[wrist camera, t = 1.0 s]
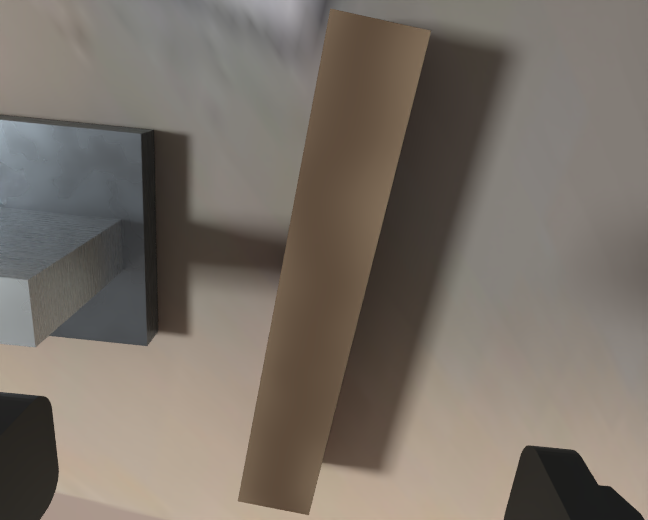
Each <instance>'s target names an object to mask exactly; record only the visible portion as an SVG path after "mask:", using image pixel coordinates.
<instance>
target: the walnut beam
mask: <svg viewBox="0 0 648 520" xmlns="http://www.w3.org/2000/svg"><path fill="white" fill-rule="evenodd" d="M430 33H431V31H430V30H425V29H421V28H416V27H411V26H407V25H402V24H398V23H393V22H389V21H384V20H380V19H375V18H371V17H366V16H362V15H357V14H352V13H348V12H343V11H339V10H334V9H330V14H329V19H328V24H327V30H326V35H325V40H324V46H323V51H322V56H321V62H320V67H319V72H318V78H317V83H316V88H315V94H314V99H313V104H312V110H311V115H310V120H309V126H308V131H307V136H306V141H305V147H304V152H303V157H302V163H301V168H300V173H299V179H298V184H297V189H296V195H295V200H294V205H293V211H292V216H291V221H290V227H289V232H288V237H287V243H286V248H285V253H284V258H283V264H282V269H281V274H280V280H279V285H278V290H277V296H276V301H275V306H274V312H273V317H272V322H271V328H270V333H269V338H268V344H267V349H266V354H265V360H264V365H263V370H262V375H261V381H260V386H259V391H258V397H257V402H256V407H255V413H254V418H253V423H252V429H251V434H250V439H249V445H248V450H247V455H246V461H245V466H244V471H243V477H242V482H241V487H240V492H239V498H238V501H239V502H245V503H250V504H255V505H260V506H265V507H270V508H275V509H280V510H285V511H290V512H296V513H301V514H306V515H309V512H310V508H311V504H312V500H313V496H314V492H315V488H316V484H317V480H318V476H319V472H320V468H321V464H322V460H323V456H324V452H325V449H326V445H327V441H328V437H329V433H330V429H331V425H332V421H333V417H334V413H335V409H336V405H337V401H338V397H339V393H340V389H341V385H342V381H343V377H344V373H345V369H346V366H347V362H348V358H349V354H350V350H351V346H352V342H353V338H354V334H355V330H356V326H357V322H358V318H359V314H360V310H361V306H362V302H363V298H364V294H365V290H366V286H367V282H368V279H369V275H370V271H371V267H372V263H373V259H374V255H375V251H376V247H377V243H378V239H379V235H380V231H381V227H382V223H383V219H384V215H385V211H386V207H387V203H388V199H389V196H390V192H391V188H392V184H393V180H394V176H395V172H396V168H397V164H398V160H399V156H400V152H401V148H402V144H403V140H404V136H405V132H406V128H407V124H408V120H409V116H410V112H411V109H412V105H413V101H414V97H415V93H416V89H417V85H418V81H419V77H420V73H421V69H422V65H423V61H424V57H425V53H426V49H427V45H428V41H429V37H430Z"/></svg>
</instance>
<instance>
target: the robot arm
mask: <svg viewBox="0 0 648 520" xmlns="http://www.w3.org/2000/svg"><path fill="white" fill-rule="evenodd" d="M58 473H59V468H58V458H57V449H56V440H55V432H54V423H53V414H52V407H51V403H50V401H49V399H48V398H47V397H44V396H35V395H25V394H15V393H5V392H0V520H40V519H41V517H42V516H43V514H44V513H45V511H46V510H47V508H48V507H49V505H50V503H51V500H52V498H53V496H54V493H55V490H56V486H57V482H58ZM504 520H644V518H643V517H642V515H641V514H640V513H639V512H638V511H637V510H636V509H635V508H634V507H633V506H631V505H630V504H629V503H628V502H627V501H626V500H625V499H624V498H623V497H621V496H620V495H619V494H618V493H617V492H616V491H615V490H614V489H613V488H611V487H610V486H600V485H598V484H597V482H596V480H595V479H594V477H593V475H592V474H591V472H590V471H589V469H588V467H587V466H586V464H585V462H584V461H583V459H582V457H581V456H580V455H579V454H578V453H577V452H576V451H574V450H569V449H559V448H549V447H539V446H526V447H525V448H524V449H523V451H522V453H521V456H520V460H519V463H518V467H517V471H516V475H515V478H514V482H513V486H512V489H511V493H510V497H509V500H508V504H507V508H506V512H505V516H504Z"/></svg>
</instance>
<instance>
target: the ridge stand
mask: <svg viewBox="0 0 648 520" xmlns="http://www.w3.org/2000/svg"><path fill="white" fill-rule="evenodd" d="M157 332H158V304H157V257H156V211H155V165H154V130H149V129H139V128H129V127H119V126H109V125H99V124H89V123H79V122H69V121H59V120H49V119H39V118H29V117H18V116H8V115H0V344H9V345H18V346H28V347H37V346H38V345H39V344H40V343H41V342H42V341H43V340H45V339H46V338H47V337H48V336H57V337H66V338H76V339H85V340H95V341H104V342H114V343H123V344H133V345H142V346H148V344H149V343H150V342H151V340H152V339H153V338H154V336H155V335H156V333H157Z"/></svg>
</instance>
